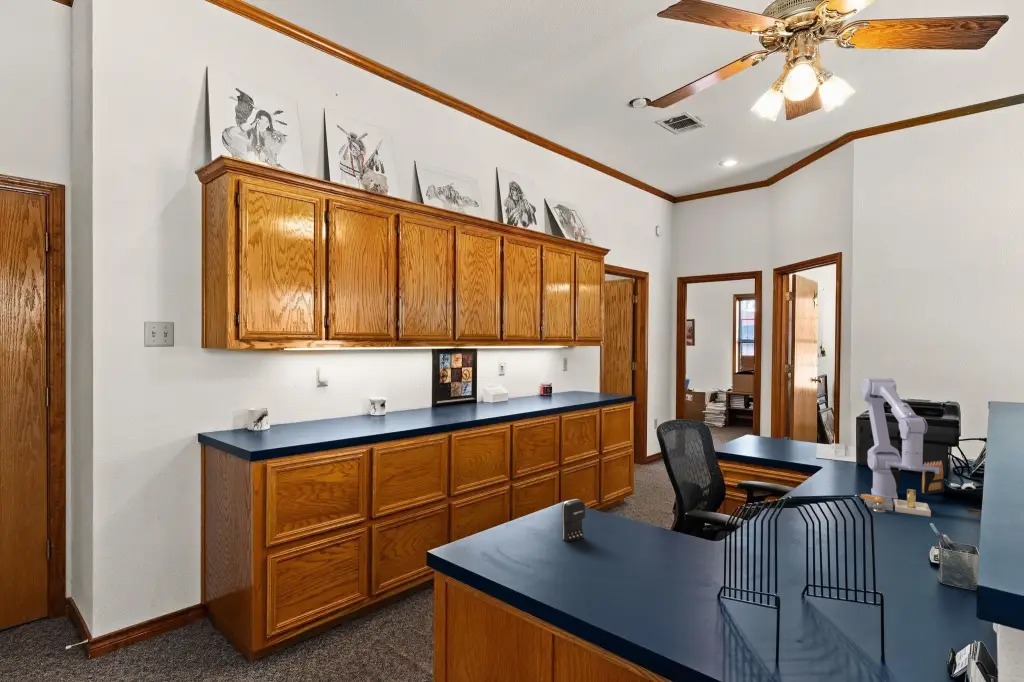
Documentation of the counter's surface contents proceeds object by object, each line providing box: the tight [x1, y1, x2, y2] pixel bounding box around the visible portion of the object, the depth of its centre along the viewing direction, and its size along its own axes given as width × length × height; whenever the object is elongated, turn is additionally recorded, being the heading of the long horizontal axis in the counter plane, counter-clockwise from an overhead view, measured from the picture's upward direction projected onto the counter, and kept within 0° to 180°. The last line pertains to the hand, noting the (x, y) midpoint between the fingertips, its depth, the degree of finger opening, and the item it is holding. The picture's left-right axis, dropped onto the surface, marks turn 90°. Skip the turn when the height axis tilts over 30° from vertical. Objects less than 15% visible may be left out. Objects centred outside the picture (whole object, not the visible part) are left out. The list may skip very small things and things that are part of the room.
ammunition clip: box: [920, 460, 945, 495], centre depth 208 cm, size 11×2×12 cm, turn 110°
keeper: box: [860, 493, 884, 502], centre depth 187 cm, size 7×3×1 cm, turn 44°
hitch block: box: [864, 493, 894, 514], centre depth 190 cm, size 13×8×3 cm, turn 148°
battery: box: [561, 498, 587, 542], centre depth 161 cm, size 7×4×11 cm, turn 123°
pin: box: [906, 488, 917, 509], centre depth 187 cm, size 2×2×6 cm
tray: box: [892, 498, 932, 517], centre depth 187 cm, size 10×10×2 cm
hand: (911, 491), depth 187 cm, fingers open, 7 cm apart
